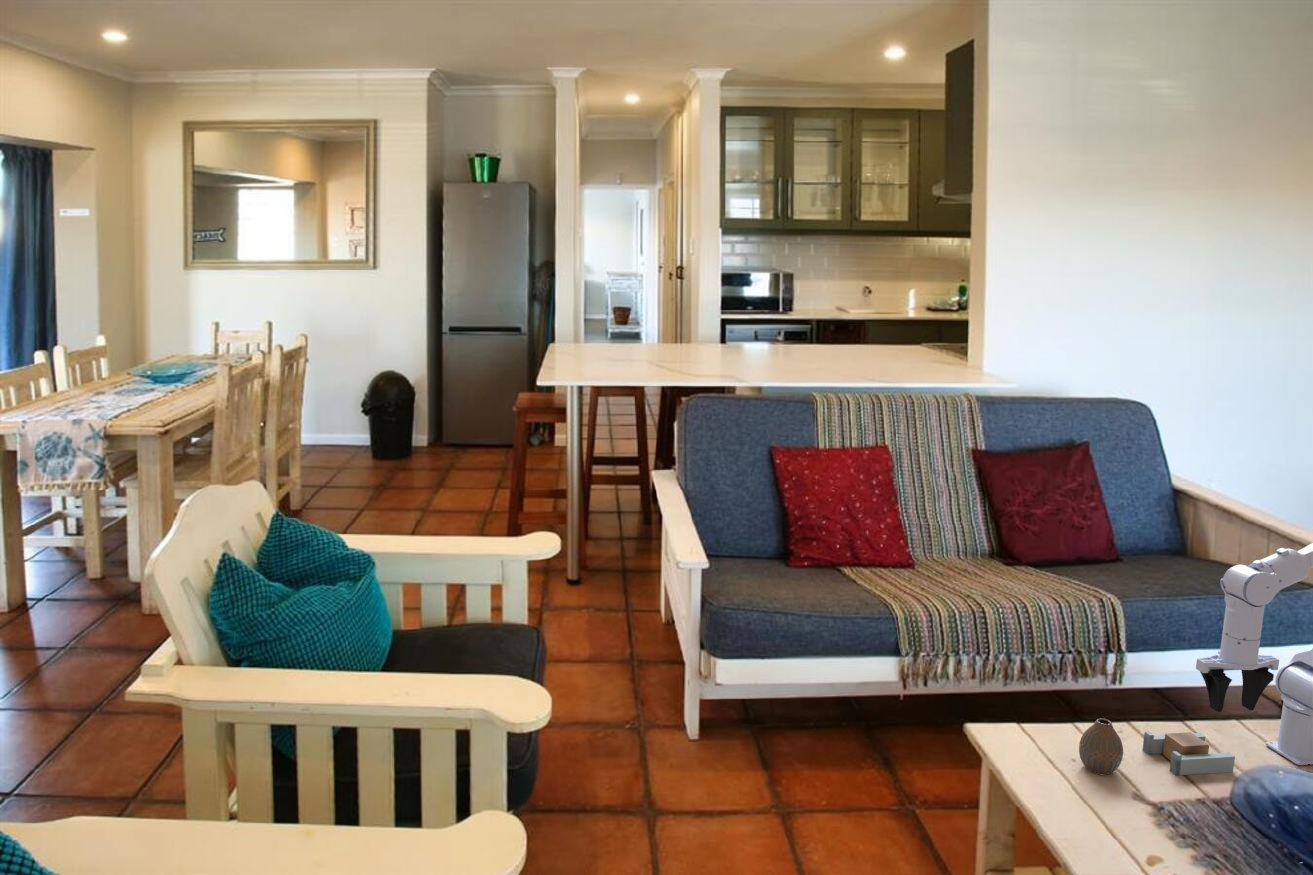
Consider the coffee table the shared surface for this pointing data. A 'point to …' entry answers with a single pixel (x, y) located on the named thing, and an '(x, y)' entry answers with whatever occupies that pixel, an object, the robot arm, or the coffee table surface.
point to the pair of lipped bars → (1190, 758)
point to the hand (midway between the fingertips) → (1231, 708)
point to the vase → (1101, 748)
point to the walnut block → (1184, 744)
